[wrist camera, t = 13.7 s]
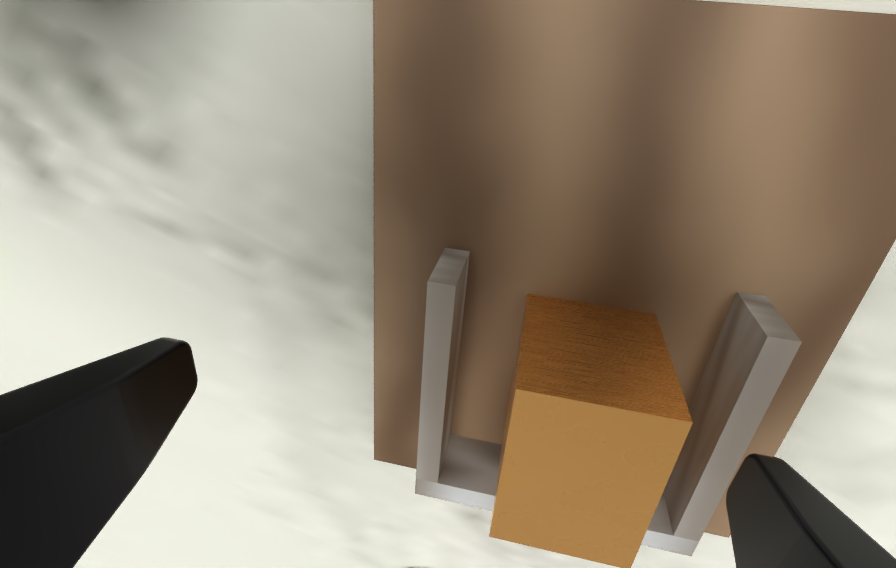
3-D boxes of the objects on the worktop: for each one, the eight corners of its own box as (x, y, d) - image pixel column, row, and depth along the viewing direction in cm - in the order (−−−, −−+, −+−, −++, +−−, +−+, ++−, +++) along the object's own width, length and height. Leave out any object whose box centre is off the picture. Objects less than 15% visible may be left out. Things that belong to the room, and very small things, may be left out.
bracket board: (380, 445, 27) (353, 507, 23) (383, -20, 16) (335, -34, 13) (722, 519, 24) (749, 601, 21) (988, 23, 14) (1132, 21, 10)
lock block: (505, 421, 23) (489, 536, 18) (527, 293, 19) (516, 388, 14) (613, 442, 22) (629, 569, 17) (655, 314, 19) (692, 422, 14)
